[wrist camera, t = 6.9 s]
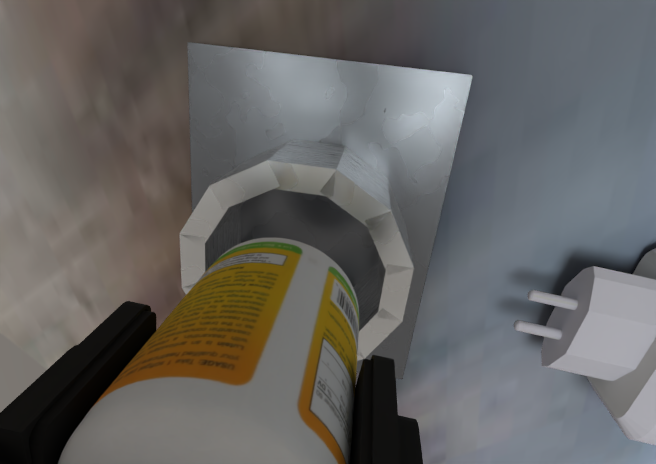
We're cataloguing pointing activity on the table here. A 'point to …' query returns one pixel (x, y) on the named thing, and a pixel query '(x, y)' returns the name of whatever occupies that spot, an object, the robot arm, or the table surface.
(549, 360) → the charger
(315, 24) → the table surface
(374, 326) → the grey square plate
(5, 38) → the table surface
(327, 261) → the supplement bottle
